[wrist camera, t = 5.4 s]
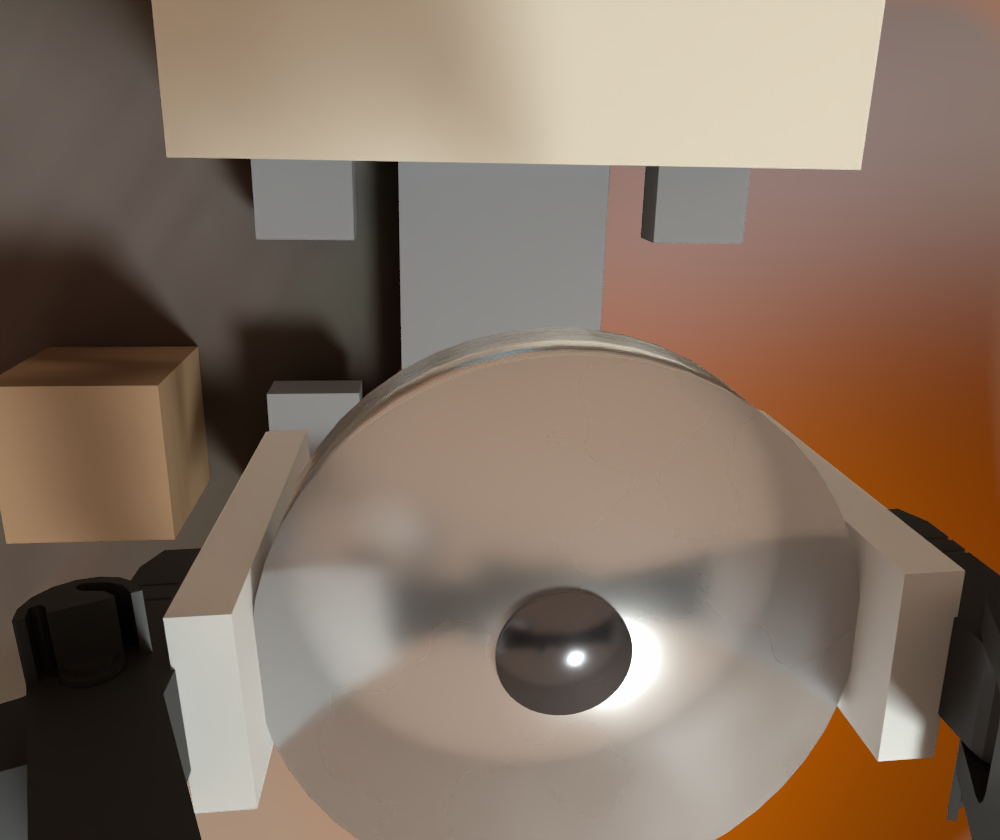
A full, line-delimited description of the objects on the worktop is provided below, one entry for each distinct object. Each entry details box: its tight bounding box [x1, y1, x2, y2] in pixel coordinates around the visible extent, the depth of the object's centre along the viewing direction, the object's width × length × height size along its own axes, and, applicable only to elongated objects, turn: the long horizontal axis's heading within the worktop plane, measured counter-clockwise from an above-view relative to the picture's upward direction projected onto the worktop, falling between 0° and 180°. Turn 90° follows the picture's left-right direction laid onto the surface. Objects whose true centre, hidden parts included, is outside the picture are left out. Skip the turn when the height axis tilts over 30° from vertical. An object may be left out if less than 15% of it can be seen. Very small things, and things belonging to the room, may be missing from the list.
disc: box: [253, 327, 860, 840], centre depth 12 cm, size 8×8×2 cm
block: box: [0, 346, 210, 544], centre depth 28 cm, size 5×5×5 cm
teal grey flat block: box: [251, 159, 751, 459], centre depth 28 cm, size 13×18×5 cm
